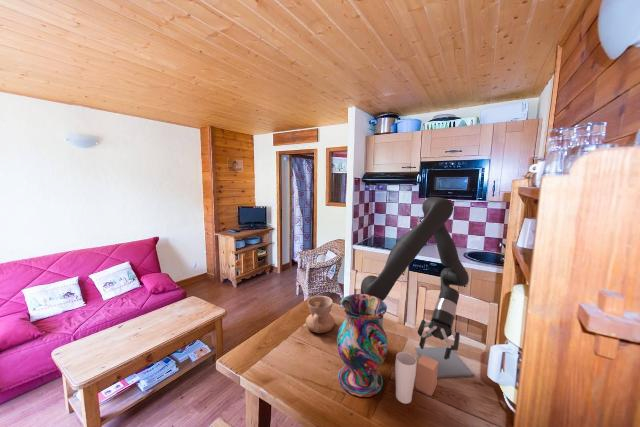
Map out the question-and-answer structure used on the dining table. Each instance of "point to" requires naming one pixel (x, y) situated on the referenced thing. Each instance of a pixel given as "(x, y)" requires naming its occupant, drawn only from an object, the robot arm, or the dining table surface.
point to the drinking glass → (405, 376)
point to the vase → (362, 344)
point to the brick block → (426, 375)
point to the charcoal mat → (446, 362)
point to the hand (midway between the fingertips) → (433, 353)
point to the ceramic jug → (320, 315)
